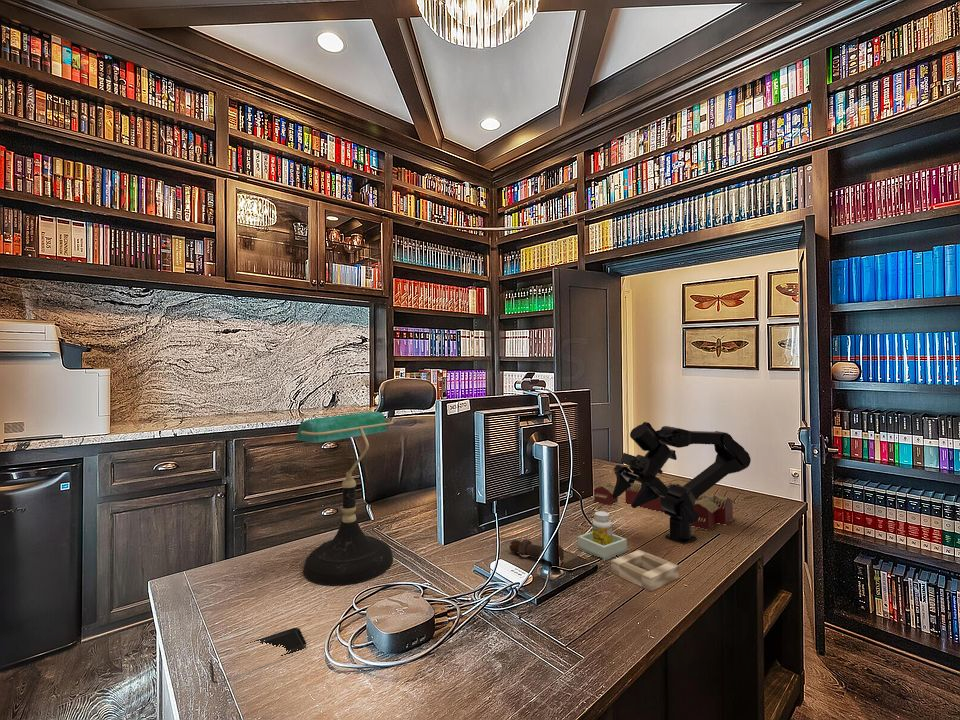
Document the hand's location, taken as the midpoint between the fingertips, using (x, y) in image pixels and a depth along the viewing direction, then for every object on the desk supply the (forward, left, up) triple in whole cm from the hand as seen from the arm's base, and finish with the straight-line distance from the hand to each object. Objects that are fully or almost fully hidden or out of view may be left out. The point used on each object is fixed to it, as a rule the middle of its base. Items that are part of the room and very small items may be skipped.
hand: (622, 502), depth 126 cm
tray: (+7, -2, -13) cm, 15 cm away
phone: (+94, -8, -13) cm, 95 cm away
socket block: (+10, +14, -13) cm, 21 cm away
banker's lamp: (+69, -35, -13) cm, 78 cm away
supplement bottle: (+7, -2, -12) cm, 14 cm away
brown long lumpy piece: (+26, -9, -13) cm, 30 cm away
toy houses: (-37, -14, -13) cm, 42 cm away
